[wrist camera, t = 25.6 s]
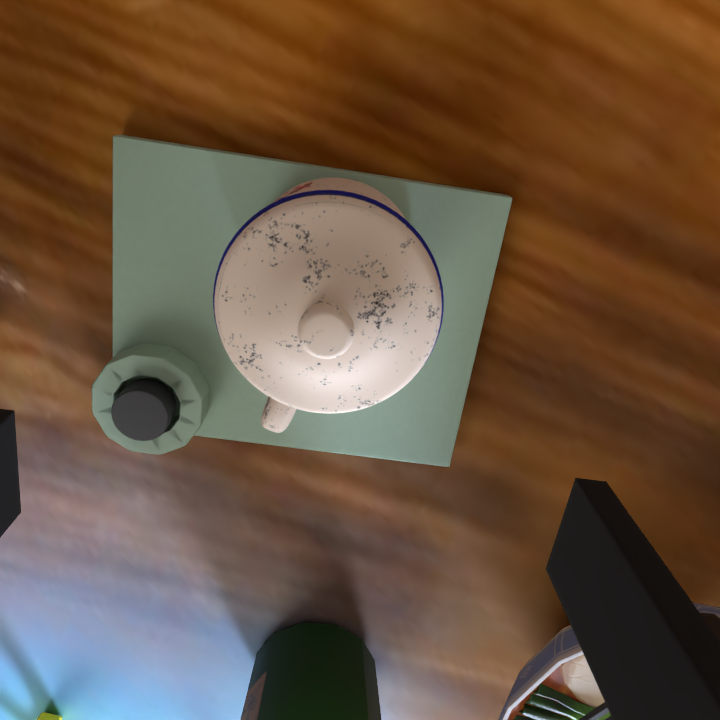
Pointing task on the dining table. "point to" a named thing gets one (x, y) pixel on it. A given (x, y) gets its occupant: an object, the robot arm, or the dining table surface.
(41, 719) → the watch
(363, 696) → the bottle
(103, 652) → the dining table surface
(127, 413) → the button
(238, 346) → the teacup with lid
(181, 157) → the scale
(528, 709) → the ramen bowl
